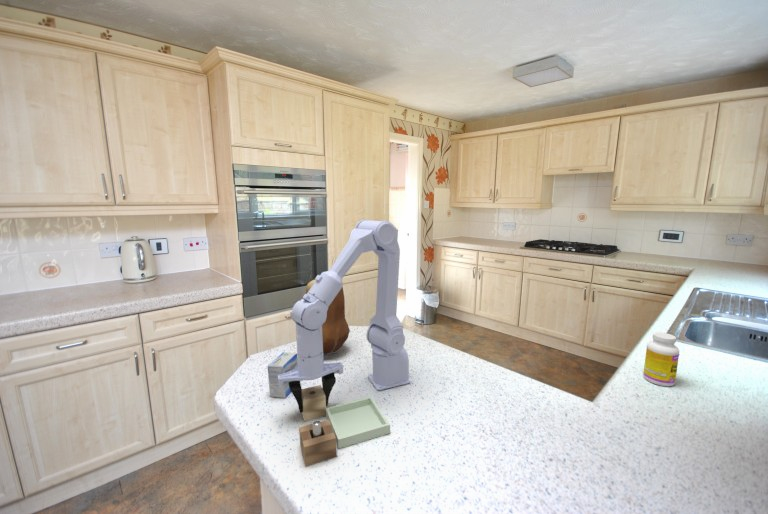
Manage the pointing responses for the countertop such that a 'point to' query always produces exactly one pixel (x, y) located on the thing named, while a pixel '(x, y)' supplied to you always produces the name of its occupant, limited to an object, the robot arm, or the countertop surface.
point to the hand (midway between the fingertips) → (313, 406)
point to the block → (313, 403)
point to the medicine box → (278, 367)
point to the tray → (357, 421)
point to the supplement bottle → (661, 360)
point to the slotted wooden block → (317, 443)
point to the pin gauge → (316, 429)
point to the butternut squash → (334, 323)
